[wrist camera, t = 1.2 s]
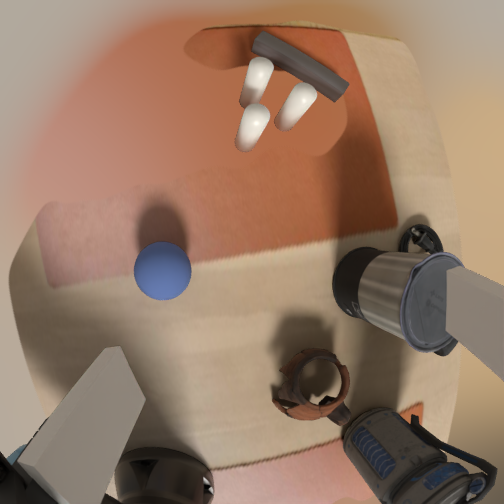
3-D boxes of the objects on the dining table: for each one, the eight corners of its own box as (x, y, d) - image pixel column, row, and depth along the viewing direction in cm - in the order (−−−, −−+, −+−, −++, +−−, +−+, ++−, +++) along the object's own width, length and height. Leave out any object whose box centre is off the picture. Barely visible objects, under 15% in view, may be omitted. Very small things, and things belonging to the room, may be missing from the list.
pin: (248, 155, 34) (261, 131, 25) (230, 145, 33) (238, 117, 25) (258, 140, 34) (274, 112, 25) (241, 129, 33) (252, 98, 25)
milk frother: (318, 299, 36) (383, 335, 21) (370, 188, 36) (448, 167, 22) (395, 338, 38) (466, 375, 23) (438, 240, 38) (515, 243, 24)
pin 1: (252, 113, 33) (265, 80, 25) (235, 103, 33) (244, 68, 25) (262, 99, 33) (278, 64, 25) (245, 89, 33) (257, 53, 25)
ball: (176, 303, 33) (170, 317, 27) (131, 276, 32) (117, 284, 26) (202, 258, 33) (201, 263, 27) (157, 231, 32) (147, 229, 27)
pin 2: (287, 134, 34) (310, 107, 26) (270, 124, 34) (289, 93, 25) (296, 120, 34) (320, 91, 26) (280, 110, 34) (300, 78, 25)
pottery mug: (249, 393, 36) (269, 392, 29) (290, 340, 40) (316, 326, 33) (316, 441, 34) (348, 447, 27) (350, 388, 39) (385, 382, 32)
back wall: (334, 102, 35) (343, 93, 32) (251, 51, 33) (254, 39, 30) (340, 93, 35) (349, 83, 32) (258, 43, 33) (262, 30, 30)
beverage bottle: (413, 400, 39) (515, 475, 15) (365, 460, 39) (441, 552, 14) (376, 382, 38) (494, 476, 13) (324, 449, 37) (399, 565, 13)
